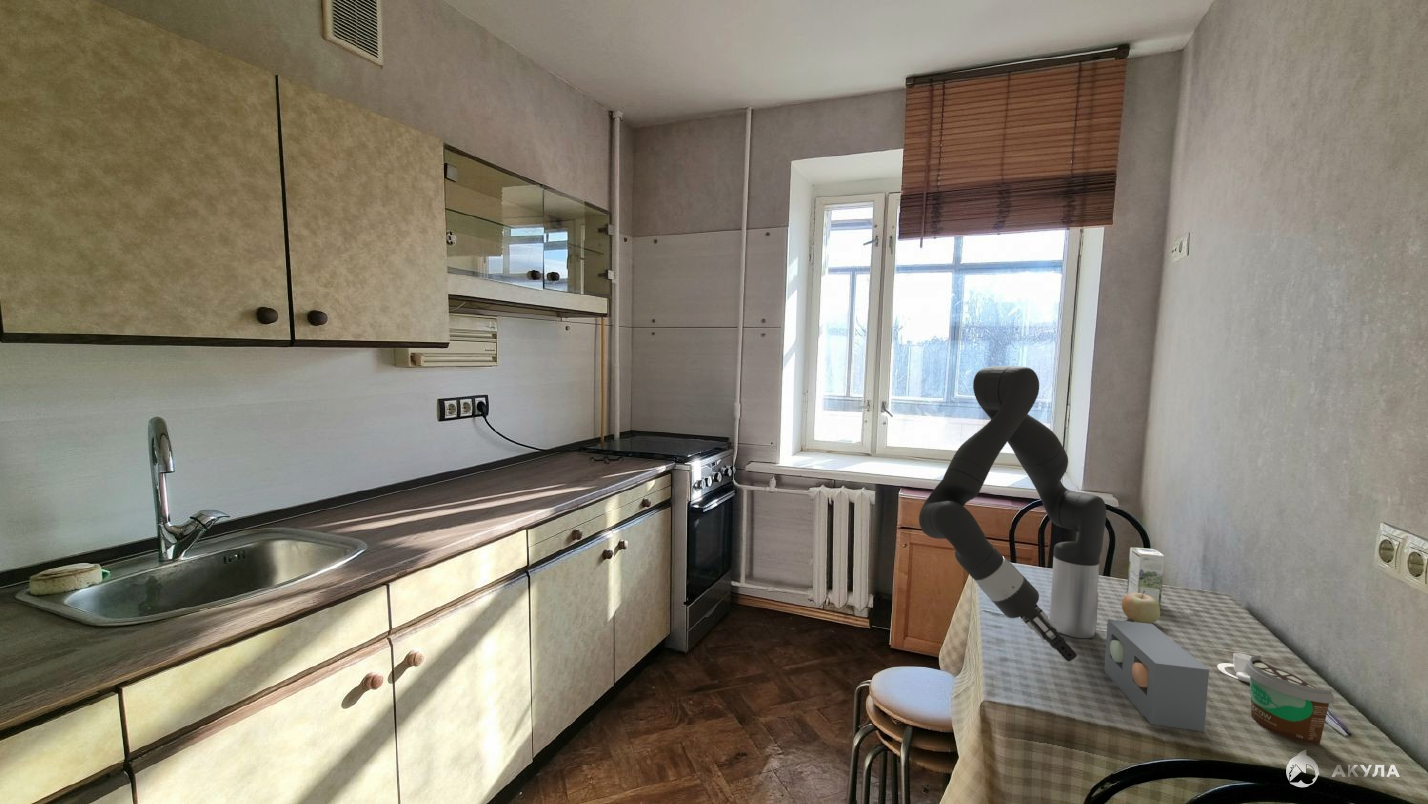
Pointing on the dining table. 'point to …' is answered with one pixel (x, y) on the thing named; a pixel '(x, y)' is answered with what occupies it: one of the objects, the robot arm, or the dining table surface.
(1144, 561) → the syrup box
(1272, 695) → the food container
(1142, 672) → the terracotta button
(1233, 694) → the dining table surface
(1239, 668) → the teacup and saucer
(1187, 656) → the block
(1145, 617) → the fruit
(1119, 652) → the sage button
